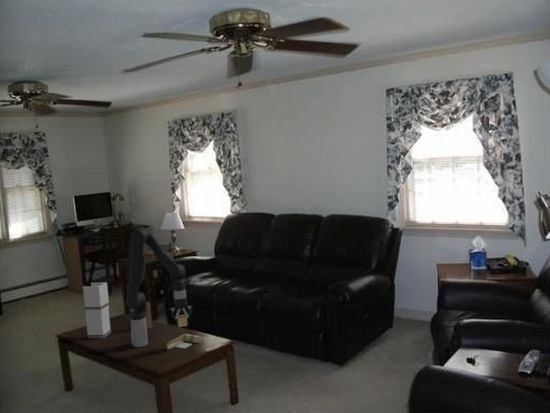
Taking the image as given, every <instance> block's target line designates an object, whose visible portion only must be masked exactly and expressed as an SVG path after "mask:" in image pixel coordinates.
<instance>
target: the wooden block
mask: <svg viewBox="0 0 550 413" xmlns="http://www.w3.org/2000/svg"><path fill="white" fill-rule="evenodd" d="M151 309H152V308H151V303H150V302H149V301H146V326H147V330H150V329H152V328H153V322H152V321H153V320H152V312H151V311H152V310H151Z"/></svg>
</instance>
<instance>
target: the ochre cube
mask: <svg viewBox="0 0 550 413" xmlns="http://www.w3.org/2000/svg"><path fill="white" fill-rule="evenodd" d="M177 319H178V325H177V327H178V328H182V327H187V326H188V324H187V316H186V315H185V314H181V315H180V314H179V315H178V318H177Z"/></svg>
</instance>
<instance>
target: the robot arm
mask: <svg viewBox="0 0 550 413" xmlns="http://www.w3.org/2000/svg"><path fill="white" fill-rule="evenodd" d="M144 244H145V245H146V246H148V247H149V248H150V250H151V251H152V253H153V255H154V257H155V258H156V259H157V260H158V261H159V262H160V263H161V264H162V265H163V266H164V267H165V268H166V270H167V272H168V273H169V274H170V275H171V276H172V277H174V281H173V284H172V285H173V301H174V307H172V308H169V311H170V314H171V318H172V319H174V320H175V325H177V326H178V319H177V318H178V316H180V314H181V315H182V314H184V315H186V316H187V325H188V324H189V322H190V317H192V316H193V308H194V307H193V306H192V305H188V300H187V290H186V282H185V281H186V268H185V265H183V264H182V263H181V264H180V263H176V262H175V261H174V259H175V258H173V256H172V255H170V253H168V251H167V250H165V248H164V247H162V245H161V244H160V243H159V242H158V241H157V239H156V238H155V236H154V235H153V234H152V233H151V231H150V230H149V229H148V228H146V227H143V226H140V227H138V228H135V229H133V231H132V232H131V234H130V246H131V247H130V248H131V249H130V250H131V251H130V262H129V263H130V264H129V279H128V287H127V293H126V296H125V297H126V298H125V299H126V300H125V301H126V302H125V304H126V306H127V308H128V309H130V310H133V311H132V312H131V313H130V317H129V318H130V327H131V330H130V339H131V346H132V347H134V348H141V347H145V346H147V345H148V344H149V341H148V339H149V338H148V329H147V326H146V302H147V299H146V295H145V294H144V292H142V291H139V288H140V286H141V283H142V282H143V279H144V277H145V274H146V259H145V256H144ZM187 310H189V313H188V312H187ZM174 311H175V312H176V313H175V315H174Z"/></svg>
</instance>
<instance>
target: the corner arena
mask: <svg viewBox="0 0 550 413" xmlns="http://www.w3.org/2000/svg"><path fill="white" fill-rule="evenodd" d="M183 342H184V343H185V342H187V343H195V344H201V343H202V337H201V335H194V334H188V333H183V334H181V335H179V336H178V337H176V338H174V339H171V340H169V341H167V342H166V343H165V344H166V345H165V346H166V350H171V349H173V348H176V347H175V346H177V345H179V344H181V343H183Z"/></svg>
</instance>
